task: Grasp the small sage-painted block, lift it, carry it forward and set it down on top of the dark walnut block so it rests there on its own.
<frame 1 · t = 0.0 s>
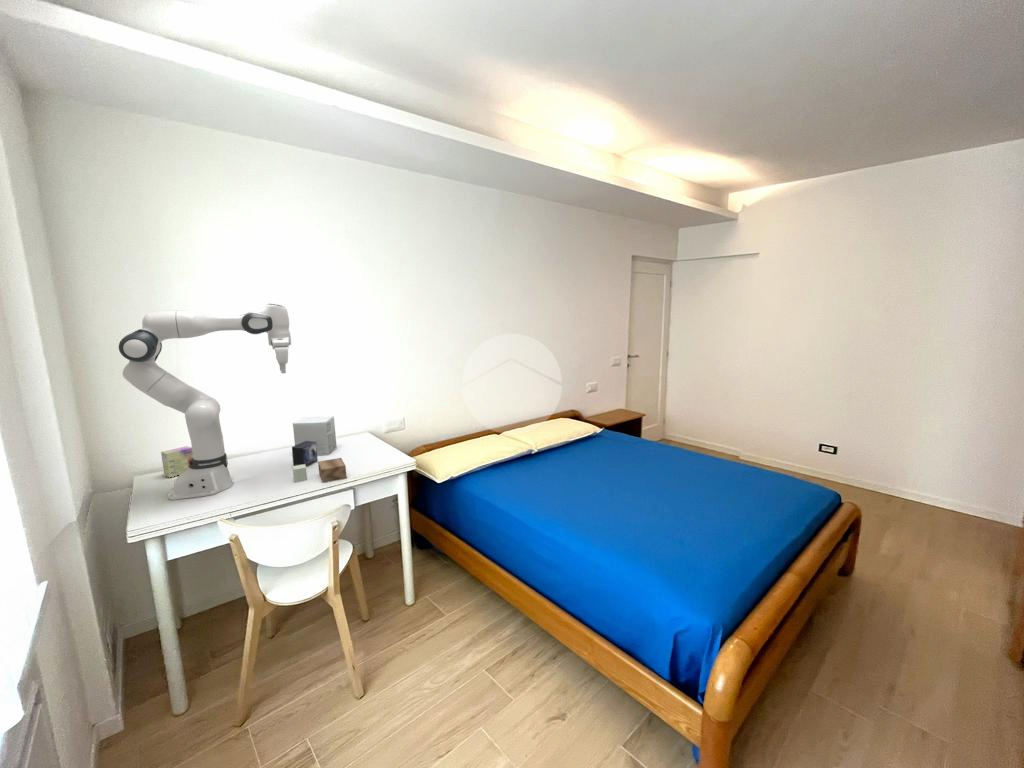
hand: (282, 371, 190), 48 cm above the table, fingers open, 8 cm apart
supplement box: (317, 452, 228), on the table
sage block: (300, 479, 191), on the table
walnut block: (332, 475, 194), on the table
box: (180, 474, 199), on the table
small box: (306, 464, 210), on the table
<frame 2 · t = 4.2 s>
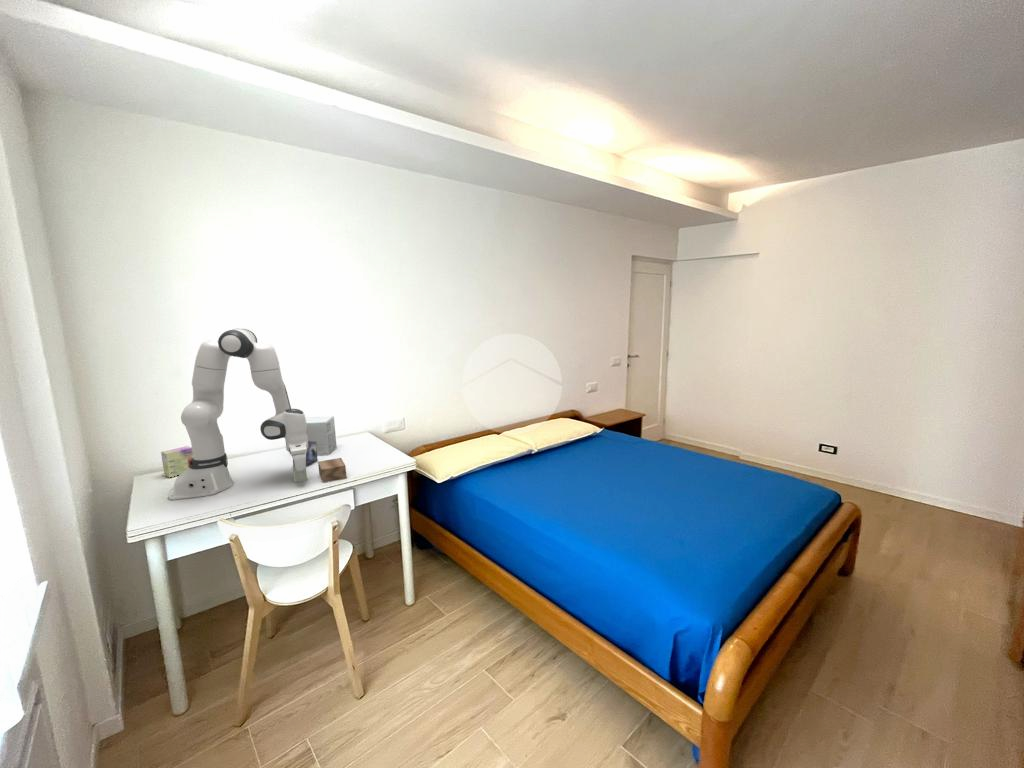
hand: (300, 474, 190), 2 cm above the table, fingers closed on sage block, 5 cm apart
sage block: (300, 479, 191), on the table, touching gripper
everything else where it was.
when the fingers open (10 cm above the table, at t = 9.3 s): sage block drops 1 cm, resting on walnut block.
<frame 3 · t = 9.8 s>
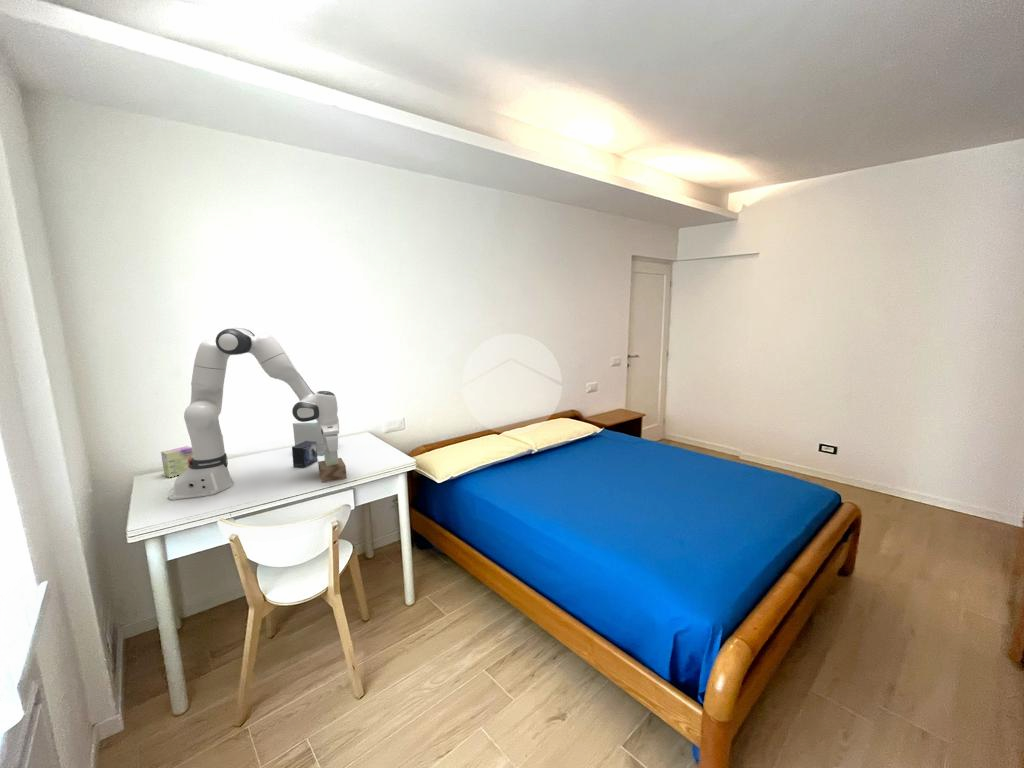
hand: (330, 456, 193), 10 cm above the table, fingers open, 8 cm apart
sage block: (331, 463, 193), point 6 cm above the table, touching walnut block
everything else where it was.
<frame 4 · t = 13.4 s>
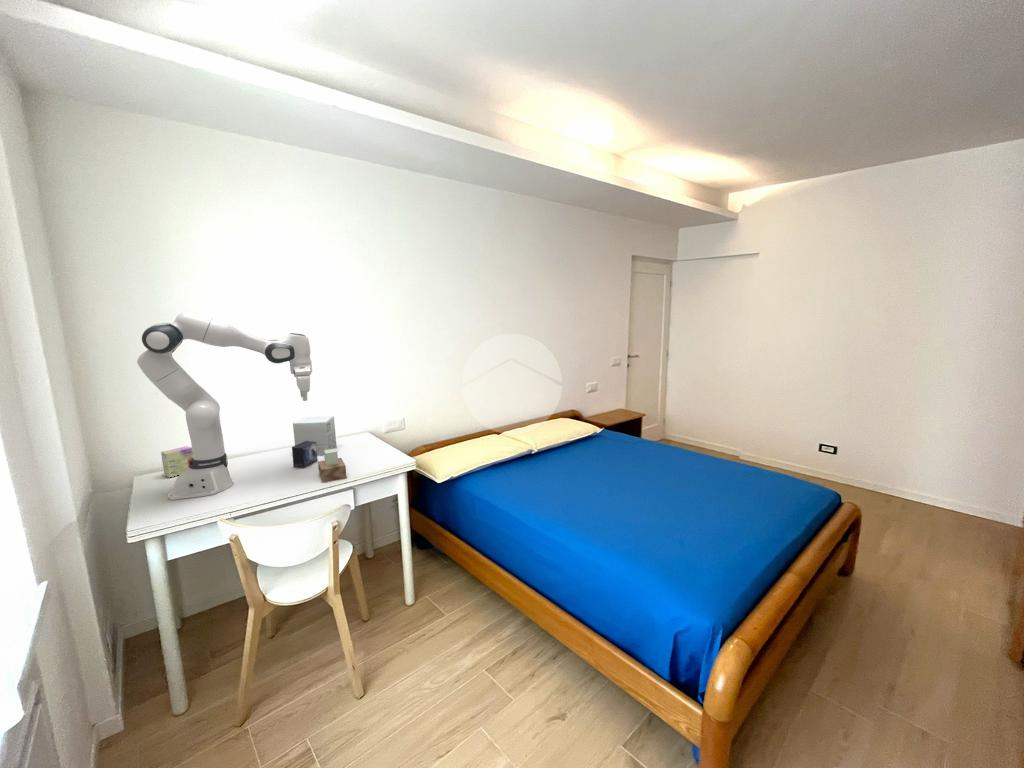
hand: (304, 398, 194), 35 cm above the table, fingers open, 8 cm apart
nothing on the table moved.
at the end: sage block inside the target area on the walnut block (0.0 cm from its centre), point 6.0 cm above the walnut block's base; sage block tilted 0°; the gripper is holding nothing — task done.
